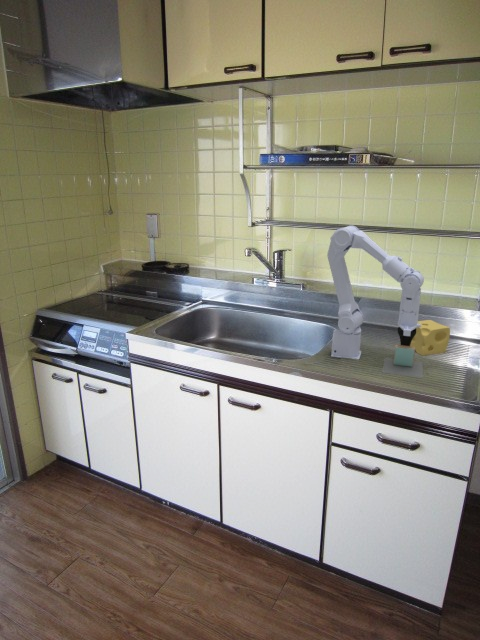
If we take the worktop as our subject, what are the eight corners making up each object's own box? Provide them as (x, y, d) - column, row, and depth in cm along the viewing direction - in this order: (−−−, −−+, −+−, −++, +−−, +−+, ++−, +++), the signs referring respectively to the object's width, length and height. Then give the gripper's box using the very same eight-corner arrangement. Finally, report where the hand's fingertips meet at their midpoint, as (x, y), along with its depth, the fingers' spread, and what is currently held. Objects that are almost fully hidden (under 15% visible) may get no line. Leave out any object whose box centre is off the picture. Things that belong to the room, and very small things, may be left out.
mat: (381, 374, 144) (382, 372, 144) (384, 359, 156) (384, 357, 156) (422, 379, 140) (422, 377, 140) (422, 364, 152) (422, 362, 152)
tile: (393, 364, 150) (395, 346, 147) (393, 362, 151) (395, 344, 148) (412, 367, 148) (415, 349, 145) (412, 364, 149) (415, 346, 146)
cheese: (421, 357, 158) (425, 330, 155) (403, 346, 168) (406, 320, 164) (447, 354, 160) (451, 327, 157) (427, 344, 170) (431, 318, 167)
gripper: (423, 317, 137) (417, 359, 141) (422, 305, 150) (417, 344, 154) (398, 315, 139) (393, 356, 143) (399, 303, 152) (395, 341, 156)
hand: (404, 350), depth 149 cm, fingers closed
